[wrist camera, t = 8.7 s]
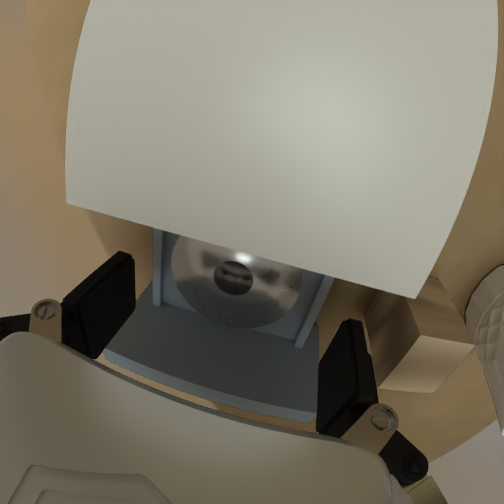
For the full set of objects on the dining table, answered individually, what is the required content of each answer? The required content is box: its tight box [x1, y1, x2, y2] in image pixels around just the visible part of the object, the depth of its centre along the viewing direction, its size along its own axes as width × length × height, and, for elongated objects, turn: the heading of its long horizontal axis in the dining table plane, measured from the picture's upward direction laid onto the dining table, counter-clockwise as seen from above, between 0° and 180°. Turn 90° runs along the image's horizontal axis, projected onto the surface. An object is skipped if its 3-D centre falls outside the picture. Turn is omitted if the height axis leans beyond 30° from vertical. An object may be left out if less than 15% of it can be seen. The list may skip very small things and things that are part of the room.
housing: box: [65, 0, 498, 299], centre depth 8 cm, size 11×12×8 cm
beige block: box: [364, 277, 475, 393], centre depth 13 cm, size 4×4×6 cm
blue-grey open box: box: [103, 228, 335, 423], centre depth 13 cm, size 11×12×7 cm
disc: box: [171, 235, 302, 328], centre depth 13 cm, size 6×6×2 cm
